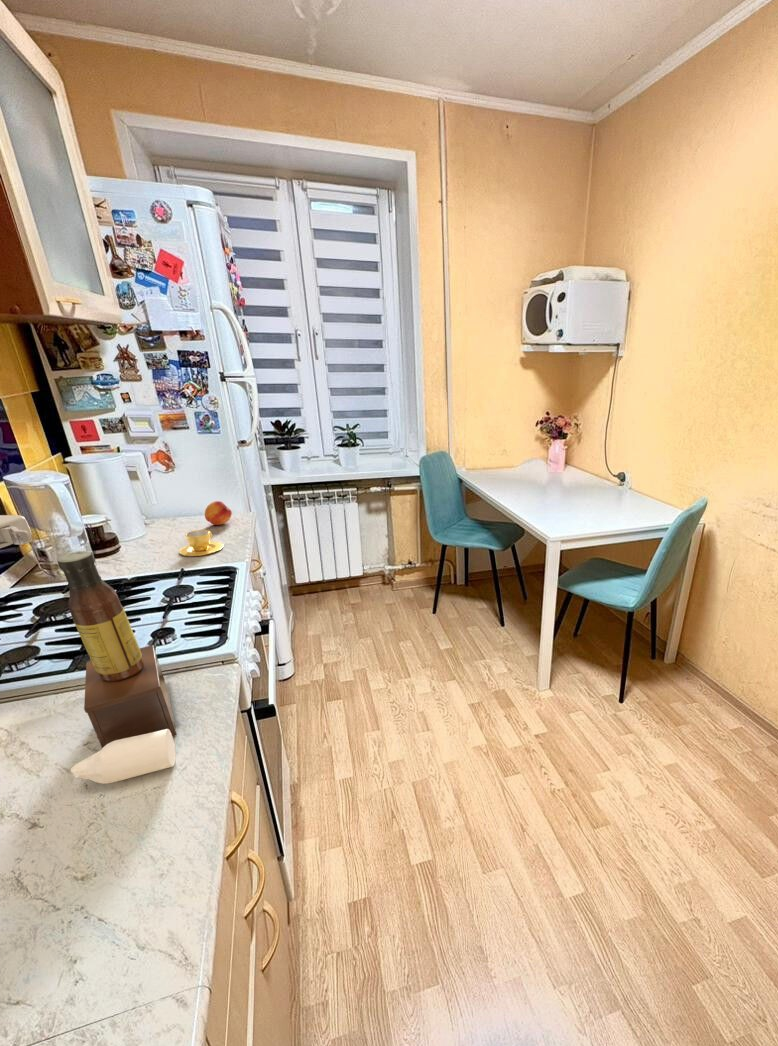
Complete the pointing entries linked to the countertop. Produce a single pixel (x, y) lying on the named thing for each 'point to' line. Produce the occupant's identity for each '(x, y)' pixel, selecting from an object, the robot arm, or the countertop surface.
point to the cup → (200, 543)
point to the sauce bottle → (100, 619)
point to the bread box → (135, 716)
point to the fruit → (217, 513)
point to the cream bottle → (128, 758)
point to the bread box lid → (121, 684)
